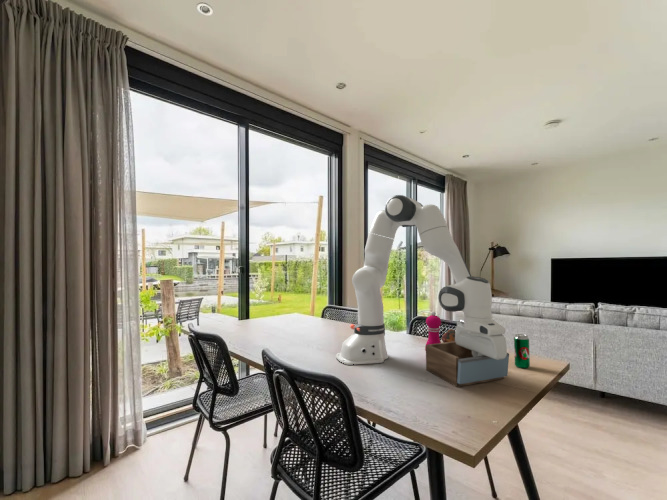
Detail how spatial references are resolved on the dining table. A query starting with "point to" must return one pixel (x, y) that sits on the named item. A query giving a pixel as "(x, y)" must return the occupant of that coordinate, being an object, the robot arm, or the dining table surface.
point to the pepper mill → (433, 329)
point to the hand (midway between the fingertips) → (478, 364)
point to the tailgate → (481, 369)
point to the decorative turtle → (449, 336)
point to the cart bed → (448, 361)
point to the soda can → (521, 351)
